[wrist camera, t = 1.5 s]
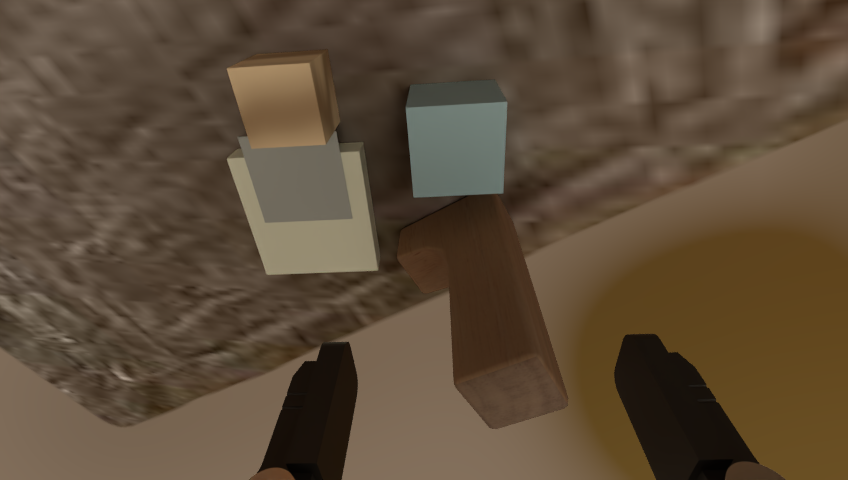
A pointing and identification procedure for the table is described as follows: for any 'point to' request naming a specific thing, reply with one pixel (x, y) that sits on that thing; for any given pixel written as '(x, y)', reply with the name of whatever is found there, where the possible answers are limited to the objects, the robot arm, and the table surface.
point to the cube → (456, 138)
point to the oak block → (286, 98)
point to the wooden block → (487, 309)
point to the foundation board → (308, 206)
